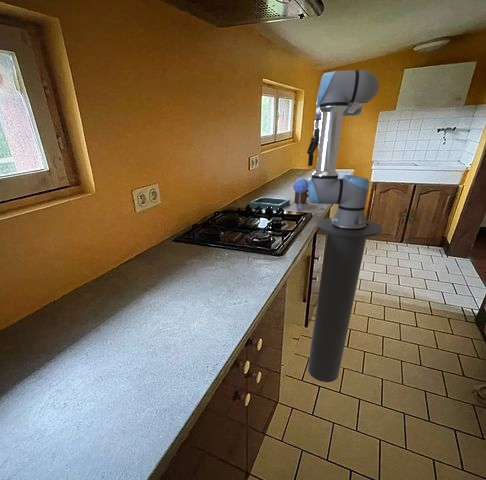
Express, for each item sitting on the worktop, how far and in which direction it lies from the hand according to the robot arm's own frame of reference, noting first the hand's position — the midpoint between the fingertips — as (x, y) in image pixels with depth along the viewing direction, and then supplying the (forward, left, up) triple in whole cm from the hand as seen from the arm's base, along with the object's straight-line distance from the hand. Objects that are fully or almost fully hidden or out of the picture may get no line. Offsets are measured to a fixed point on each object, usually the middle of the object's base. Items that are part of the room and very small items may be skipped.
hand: (316, 166), depth 186 cm
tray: (+21, +19, -22) cm, 36 cm away
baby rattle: (+1, +21, -19) cm, 29 cm away
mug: (+5, +1, -22) cm, 23 cm away
